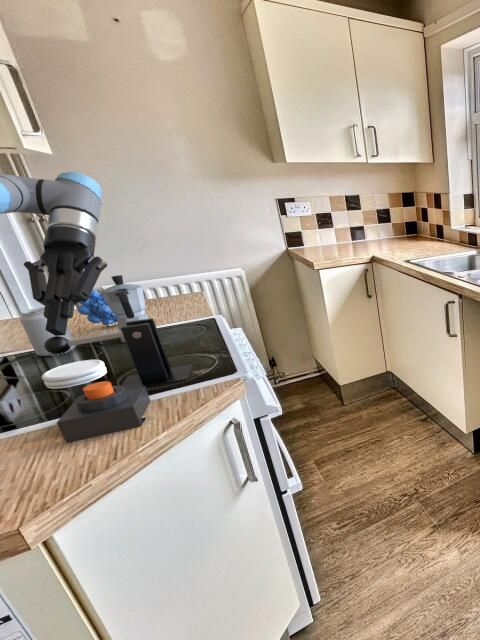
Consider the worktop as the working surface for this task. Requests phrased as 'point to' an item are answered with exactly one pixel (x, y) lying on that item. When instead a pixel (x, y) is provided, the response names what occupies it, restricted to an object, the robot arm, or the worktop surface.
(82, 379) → the white thick disc
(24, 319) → the can
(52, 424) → the worktop surface
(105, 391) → the stop button
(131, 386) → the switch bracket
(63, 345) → the lever
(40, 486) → the worktop surface
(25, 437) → the worktop surface
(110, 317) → the grapes
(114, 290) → the coffee maker
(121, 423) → the control block
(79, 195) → the robot arm
